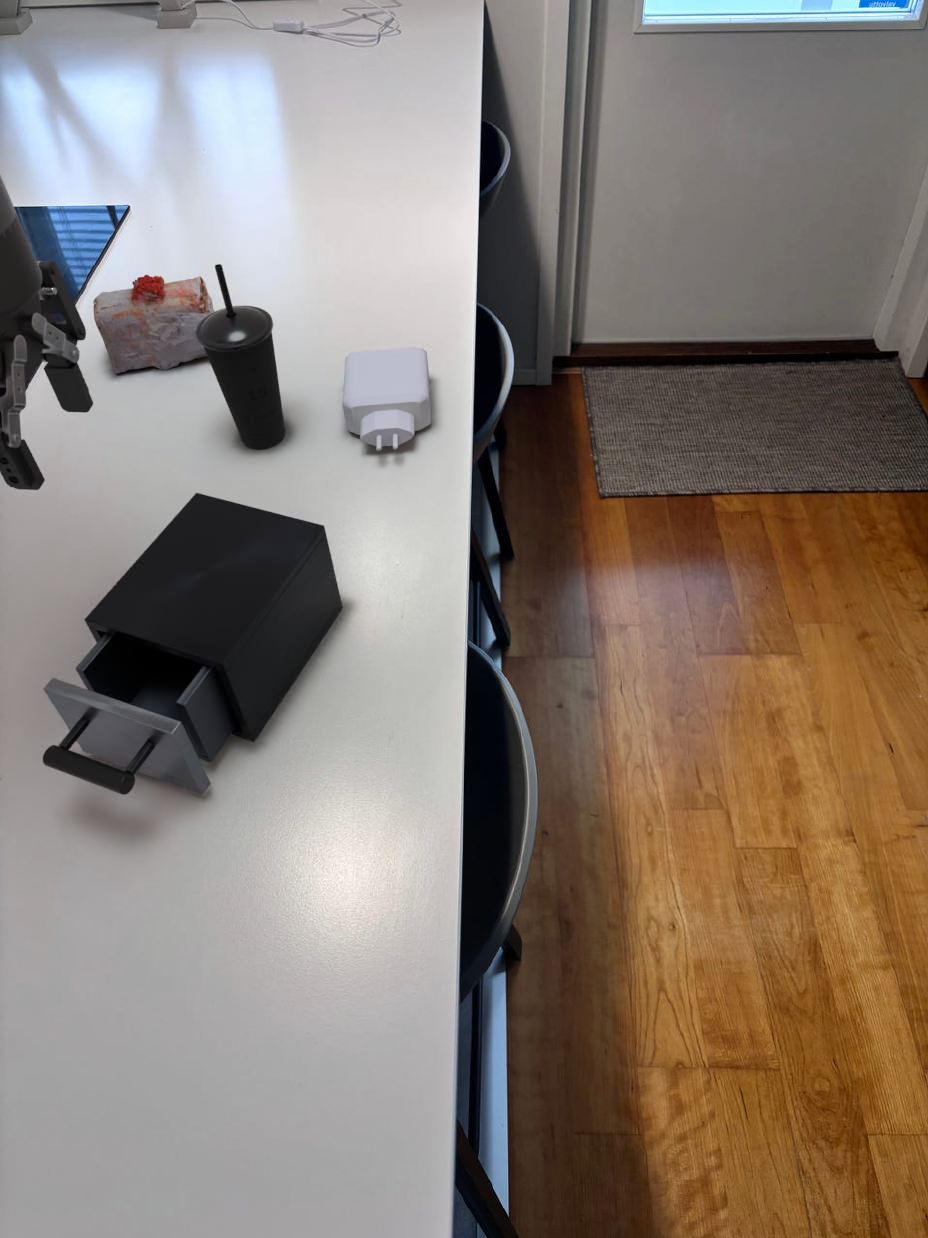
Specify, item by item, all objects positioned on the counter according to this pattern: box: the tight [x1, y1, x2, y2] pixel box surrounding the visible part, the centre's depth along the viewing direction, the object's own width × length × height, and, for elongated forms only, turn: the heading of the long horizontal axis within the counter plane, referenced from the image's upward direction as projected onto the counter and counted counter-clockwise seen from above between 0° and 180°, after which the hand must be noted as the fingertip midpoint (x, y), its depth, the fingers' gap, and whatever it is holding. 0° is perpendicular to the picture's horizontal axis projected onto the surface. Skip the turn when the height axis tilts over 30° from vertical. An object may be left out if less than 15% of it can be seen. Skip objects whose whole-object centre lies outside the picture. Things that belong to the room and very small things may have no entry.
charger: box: [342, 346, 432, 452], centre depth 103 cm, size 5×9×15 cm
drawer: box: [42, 633, 239, 796], centre depth 75 cm, size 19×12×8 cm, turn 157°
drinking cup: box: [196, 263, 286, 450], centre depth 97 cm, size 8×8×20 cm
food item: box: [92, 274, 216, 375], centre depth 113 cm, size 14×8×10 cm, turn 104°
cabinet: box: [84, 492, 344, 743], centre depth 80 cm, size 16×13×10 cm
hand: (55, 446), depth 67 cm, fingers open, 8 cm apart
